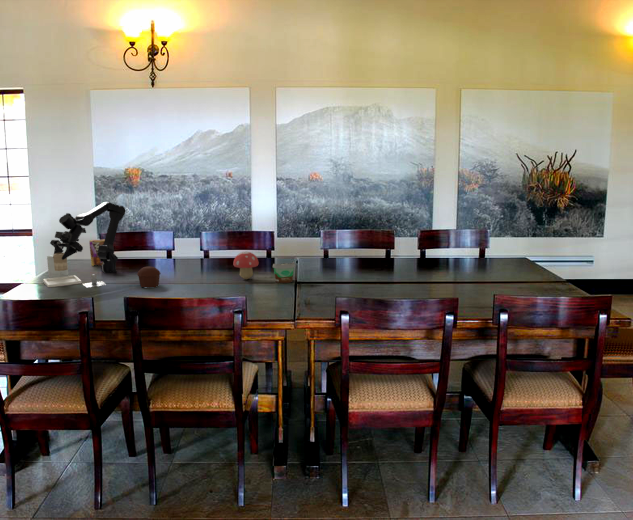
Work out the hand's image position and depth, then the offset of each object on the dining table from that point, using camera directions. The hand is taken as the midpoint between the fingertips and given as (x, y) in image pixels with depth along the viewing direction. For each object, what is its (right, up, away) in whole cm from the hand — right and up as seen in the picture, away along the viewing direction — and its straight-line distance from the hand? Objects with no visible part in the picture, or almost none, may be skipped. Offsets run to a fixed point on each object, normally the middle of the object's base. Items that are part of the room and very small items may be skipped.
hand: (58, 258), depth 297 cm
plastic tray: (+1, -13, +4) cm, 13 cm away
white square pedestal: (+19, -14, -1) cm, 24 cm away
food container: (+118, -12, +4) cm, 118 cm away
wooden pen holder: (+1, -6, +2) cm, 6 cm away
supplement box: (-7, -11, +18) cm, 22 cm away
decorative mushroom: (+96, -11, +11) cm, 97 cm away
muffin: (+48, -14, -3) cm, 50 cm away
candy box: (+2, -4, +53) cm, 53 cm away
